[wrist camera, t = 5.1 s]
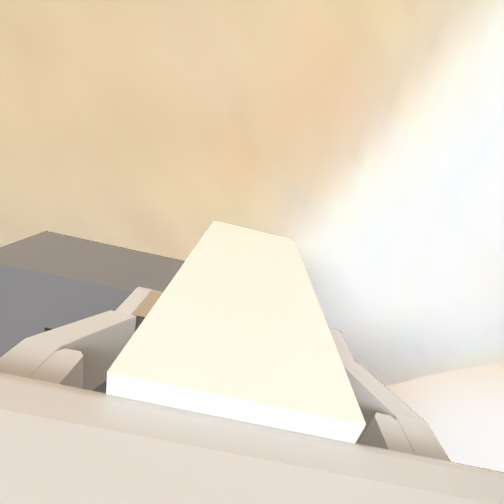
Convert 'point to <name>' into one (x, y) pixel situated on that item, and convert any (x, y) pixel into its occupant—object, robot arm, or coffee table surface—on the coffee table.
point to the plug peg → (241, 341)
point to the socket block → (69, 283)
